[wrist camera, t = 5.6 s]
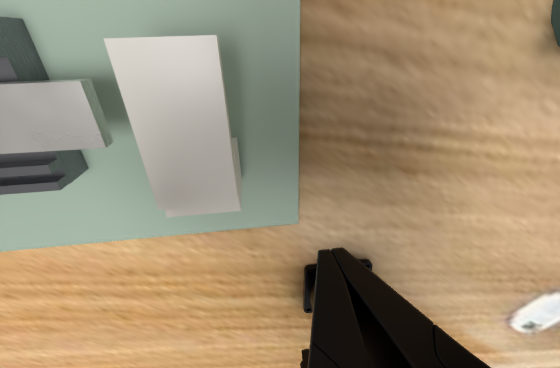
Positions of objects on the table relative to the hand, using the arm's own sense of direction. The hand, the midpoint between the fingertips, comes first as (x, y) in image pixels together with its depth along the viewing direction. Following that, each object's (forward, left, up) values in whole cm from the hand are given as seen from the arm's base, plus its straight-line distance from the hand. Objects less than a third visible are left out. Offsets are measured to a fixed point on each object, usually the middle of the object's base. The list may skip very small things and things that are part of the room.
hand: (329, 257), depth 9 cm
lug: (+2, +5, -10) cm, 11 cm away
